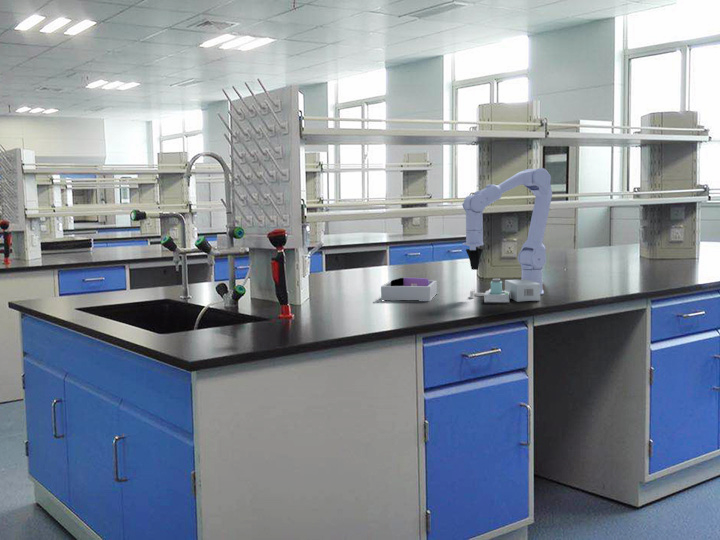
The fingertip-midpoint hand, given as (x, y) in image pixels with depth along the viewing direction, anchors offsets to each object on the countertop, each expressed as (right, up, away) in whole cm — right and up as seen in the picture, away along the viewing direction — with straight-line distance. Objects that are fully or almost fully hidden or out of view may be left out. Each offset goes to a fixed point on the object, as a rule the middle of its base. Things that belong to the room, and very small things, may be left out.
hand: (474, 269), depth 263 cm
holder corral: (-22, -10, +6) cm, 25 cm away
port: (+6, -11, -8) cm, 15 cm away
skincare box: (+16, -8, -11) cm, 21 cm away
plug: (+6, -10, -8) cm, 14 cm away
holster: (+3, -10, +3) cm, 10 cm away
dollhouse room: (-22, -11, +6) cm, 25 cm away
